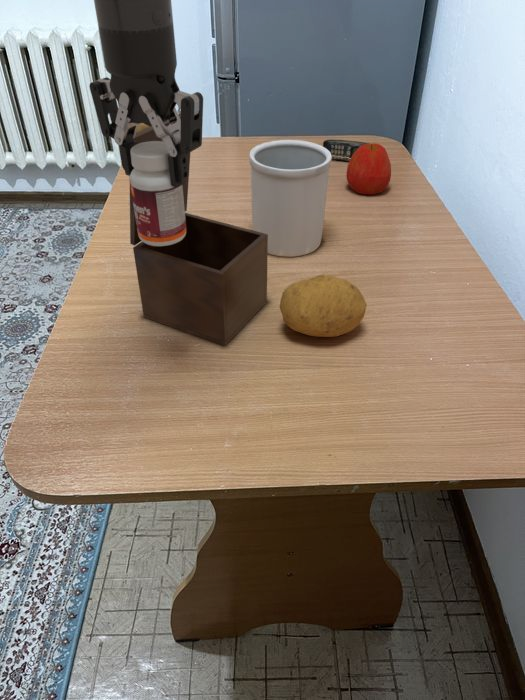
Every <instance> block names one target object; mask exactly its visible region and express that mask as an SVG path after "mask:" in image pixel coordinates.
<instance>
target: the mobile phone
mask: <svg viewBox="0 0 525 700" xmlns="http://www.w3.org/2000/svg"><path fill="white" fill-rule="evenodd" d="M364 144H372V143H371V142H365V141H356V140H347V139H346V140H345V139H325V140H324V141H323V142H322V146H323V147H324V148H326V149H327V150H329V151H330V153H331V155H335V156H341V157H349V158H351V157H352V155H353V154H354V153H355V151H356V150H357V149H358V148H359V147H360V146H362V145H364ZM341 157H332V160H331V161H340V162H348V163H349V161H350V159H349V158H341Z"/></svg>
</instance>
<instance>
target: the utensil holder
mask: <svg viewBox="0 0 525 700" xmlns="http://www.w3.org/2000/svg"><path fill="white" fill-rule="evenodd" d="M248 155H249V157H248V160H249V165H250V187H251V188H250V189H251V192H250V193H251V225H252V230H253V231H257V232H261V233H265V234H268V254H269V255H272V256H276V257H283V258H287V257H289V258H290V257H291V258H293V257H300V256H305V255H309V254H310V253H311V254H312V253H313V252H314V251H316V250H317V249H318V248H319V247H320V245H321V242H322V237H323V230H324V222H325V221H324V220H325V214H326V203H327V195H328V185H329V174H330V167H331V164H332V161H333V160H332V155H331V153H330V151H329V150H327V149H326V148H324V147H323V145H320V144H318V143H315V142H311V141H306V140H301V139H277V140H271V141H265V142H262V143H259V144H257V145H255V146H254V147H253V148H252V149H251V150H250V151H249V154H248Z"/></svg>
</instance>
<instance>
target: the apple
mask: <svg viewBox="0 0 525 700" xmlns="http://www.w3.org/2000/svg"><path fill="white" fill-rule="evenodd" d="M345 177H346V182H347V183H348V186H349V187H350V188H351V189H352V190H353V191H354V192H356V193H358V194H361V195H376V194H380V193H383V192H384V191H385V190H386V189H387V187H389V184H390V182H391V179H392V164H391V160H390V157H389V155H388V152H387V150H386V148H385V147H384V146H383V145H381V144H379V143H371V144H364V145H362V146H360V147H359V148H358V149H357V150H356V151H355V153H354V154H353V155H352V157H351V159H350V161H349V162H348V164H347V167H346V175H345Z"/></svg>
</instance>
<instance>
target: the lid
mask: <svg viewBox="0 0 525 700" xmlns="http://www.w3.org/2000/svg"><path fill="white" fill-rule="evenodd" d="M178 115H179V117H180V119H181V114H179V113H178ZM163 124H164V125H165V126H169V124H170V123H169V120H167V121H166V122H164V123H163ZM172 136H173V134H172ZM173 138H174V136H173ZM134 141H137V143H138V144H139V143H143V142H150V141H161V142H163V140H162V139H161V138H158V137H157V135H156V133H155V131H154V129H153V127H151V126H148V125H146V124H144V123H140V124H139V125H138V129H137V132H136V136H135V138H134ZM174 141H175V139H174ZM175 143H176V141H175ZM187 158H188V169H189V170H188V171H189V172H190V168H191V167H190V164H191V152H190V153H188V154H187ZM189 182H190V176H189V177H188V179H187V180H186V182H185V183H184V184H183V185H182V186H183V198H184V209H185V213H187V211H188V197H189ZM141 242H142V241H141V240H140V238H139V236H138V231H137V225H136V219H135V212H134V205H133V198H132V192H131V185H130V184H129V244H130V245H132V246H133V247H135V246H136V245H138V244H139V243H141Z"/></svg>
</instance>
